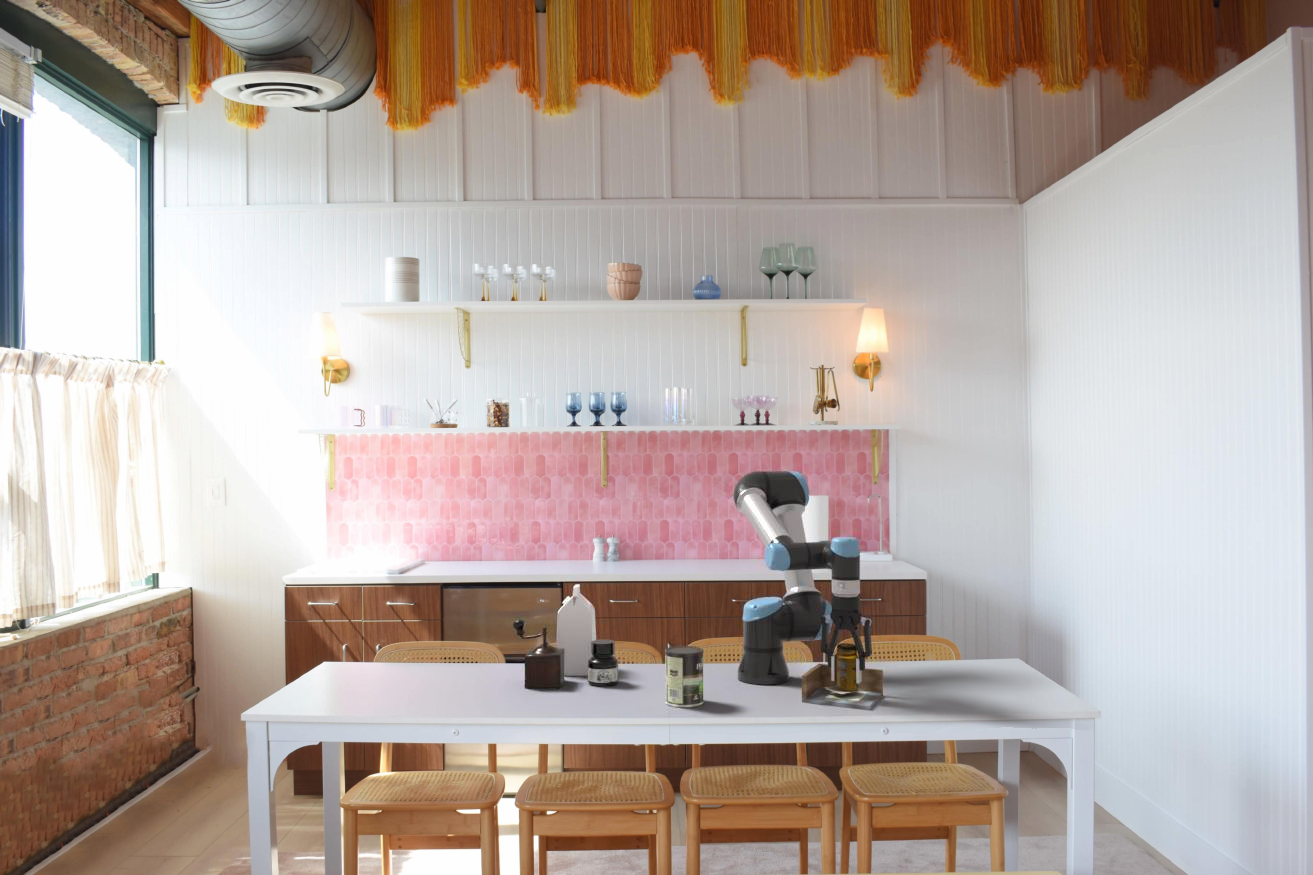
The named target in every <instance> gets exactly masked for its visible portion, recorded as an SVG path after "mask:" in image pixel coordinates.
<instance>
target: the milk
mask: <svg viewBox="0 0 1313 875" xmlns="http://www.w3.org/2000/svg"><path fill="white" fill-rule="evenodd" d="M561 604H563V605H562V606H561V607H560V608H559V609H558V611H557V616H556V617H557V619H556V645H555V648H558V649H564V677H565V676H566V677H568V676H573V677H575V676H579V677H580V676H581V677H582V676H583V677H584V676H587V677H588V660H589V659H590V658H591V657H592V656H593V655H592V654H591V653H592V652H591V642H592V641H594V640H597V633H596V611H595V610H596V609H595V606H594V605H593V604H592V602H590V601H589V600H588V599H587V598H586V597H585V596H584V595H583V594H582V593H581V585H580V584H575V585H574V586H573V588H572V596H571V597H570V596H566V598H565V599H564V600H563V601H562V602H561Z"/></svg>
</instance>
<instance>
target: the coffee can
mask: <svg viewBox="0 0 1313 875" xmlns="http://www.w3.org/2000/svg"><path fill="white" fill-rule="evenodd" d="M664 653H665V657H664V658H665V664H664V665H665V667H664V668H665V702H664V703H665V704H666V705H667V706H669V707H674V708H683V709H684V708H685V709H686V708H687V709H688V708H696V707H701V706H703V704H704V703H705V702H704V649H703V648H702V647H699V646H698V647H697V646H692V645H691V646H690V645H678V646H677V645H675V646H669V647H667V648H665V649H664Z"/></svg>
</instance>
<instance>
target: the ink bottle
mask: <svg viewBox="0 0 1313 875" xmlns="http://www.w3.org/2000/svg"><path fill="white" fill-rule="evenodd" d="M615 644H616V643H615V640H613V639H596V640H594V641H592V642H591V652H592V653H591V654H592V655H593V656H592V657H591V658H590V659H589V660H588V676H587V683H588V684H589V685H590V686H595V687H610V686H615V685H616V684H618V683H619V659H618V658H617V657H615V652H616V651H615V650H616V649H615V648H616V645H615Z"/></svg>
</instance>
